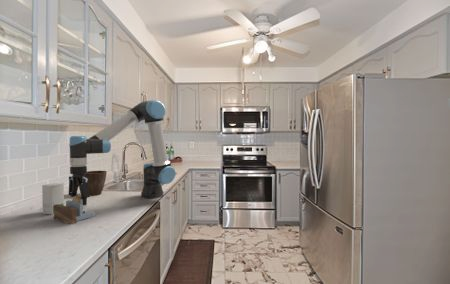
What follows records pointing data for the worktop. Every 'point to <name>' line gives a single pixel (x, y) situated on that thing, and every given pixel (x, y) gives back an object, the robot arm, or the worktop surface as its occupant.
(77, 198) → the dowel
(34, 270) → the worktop surface
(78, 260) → the worktop surface
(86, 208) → the robot arm
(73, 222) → the board
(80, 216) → the fork block
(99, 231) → the worktop surface
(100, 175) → the plant pot
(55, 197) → the skincare box
